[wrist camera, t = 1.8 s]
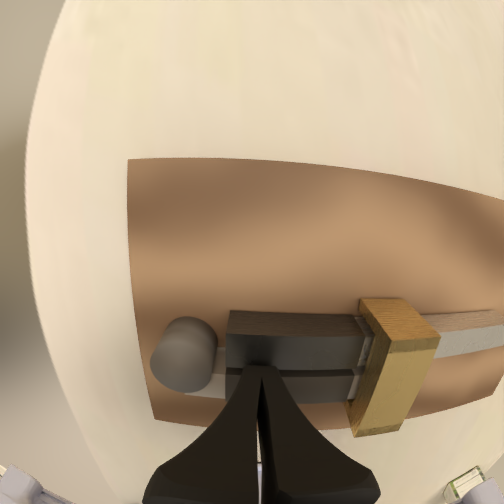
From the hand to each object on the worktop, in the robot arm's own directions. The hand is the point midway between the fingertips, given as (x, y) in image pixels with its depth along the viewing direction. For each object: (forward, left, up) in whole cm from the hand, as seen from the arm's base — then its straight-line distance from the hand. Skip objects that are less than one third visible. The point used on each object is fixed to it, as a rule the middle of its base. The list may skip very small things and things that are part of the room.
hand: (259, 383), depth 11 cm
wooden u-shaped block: (0, -6, -3) cm, 7 cm away
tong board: (+1, -8, -4) cm, 9 cm away
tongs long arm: (+1, -7, -3) cm, 8 cm away
